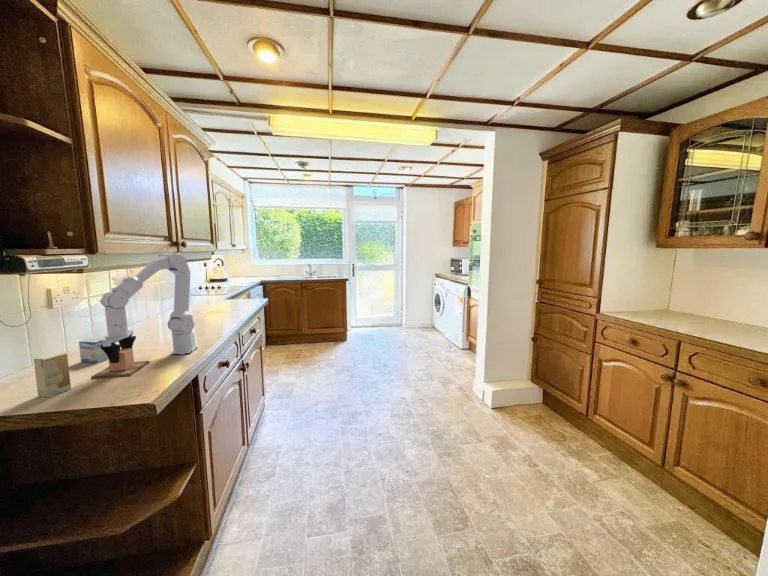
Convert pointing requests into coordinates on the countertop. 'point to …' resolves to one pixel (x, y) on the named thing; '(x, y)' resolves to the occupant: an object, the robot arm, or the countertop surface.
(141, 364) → the post board
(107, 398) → the countertop surface
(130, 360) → the square cap
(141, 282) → the robot arm
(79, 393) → the countertop surface
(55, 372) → the skincare box
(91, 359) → the medicine box
